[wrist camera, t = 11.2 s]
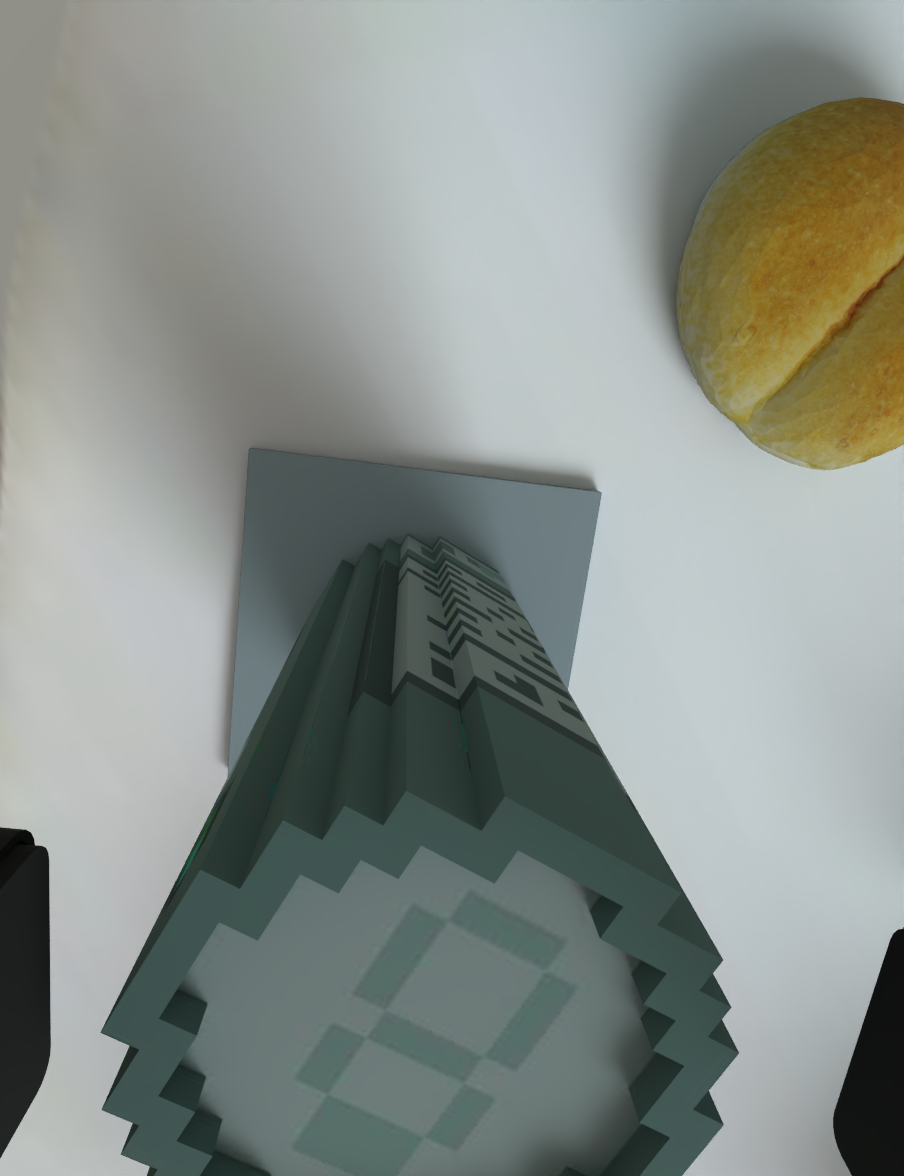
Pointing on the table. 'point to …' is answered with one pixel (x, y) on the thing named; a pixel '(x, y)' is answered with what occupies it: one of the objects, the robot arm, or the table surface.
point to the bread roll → (804, 286)
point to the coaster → (392, 510)
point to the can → (421, 921)
